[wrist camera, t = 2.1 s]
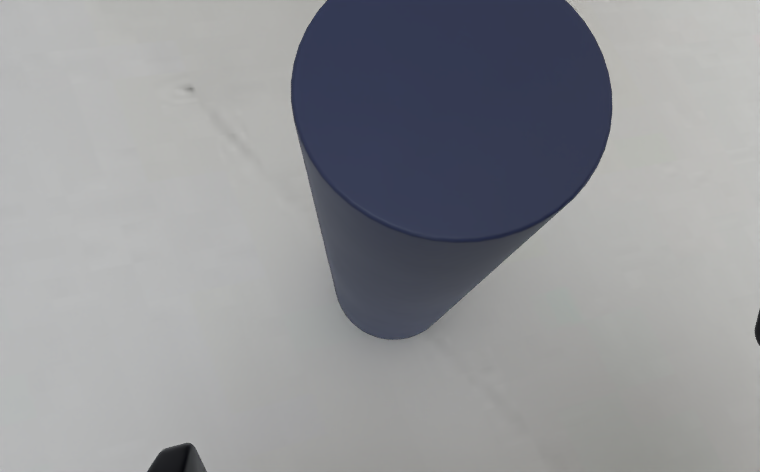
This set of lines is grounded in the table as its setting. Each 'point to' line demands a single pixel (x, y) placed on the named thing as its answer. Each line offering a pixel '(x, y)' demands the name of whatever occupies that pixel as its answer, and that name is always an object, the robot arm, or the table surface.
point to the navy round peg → (441, 142)
